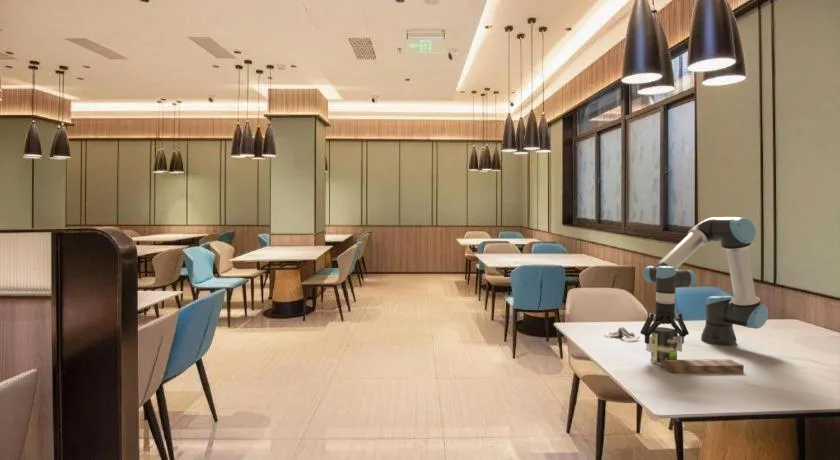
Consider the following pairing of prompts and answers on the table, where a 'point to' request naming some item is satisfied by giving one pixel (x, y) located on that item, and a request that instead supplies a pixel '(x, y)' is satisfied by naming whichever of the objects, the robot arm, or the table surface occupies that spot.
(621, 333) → the cloth
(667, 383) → the table surface
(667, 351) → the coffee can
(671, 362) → the walnut plank
